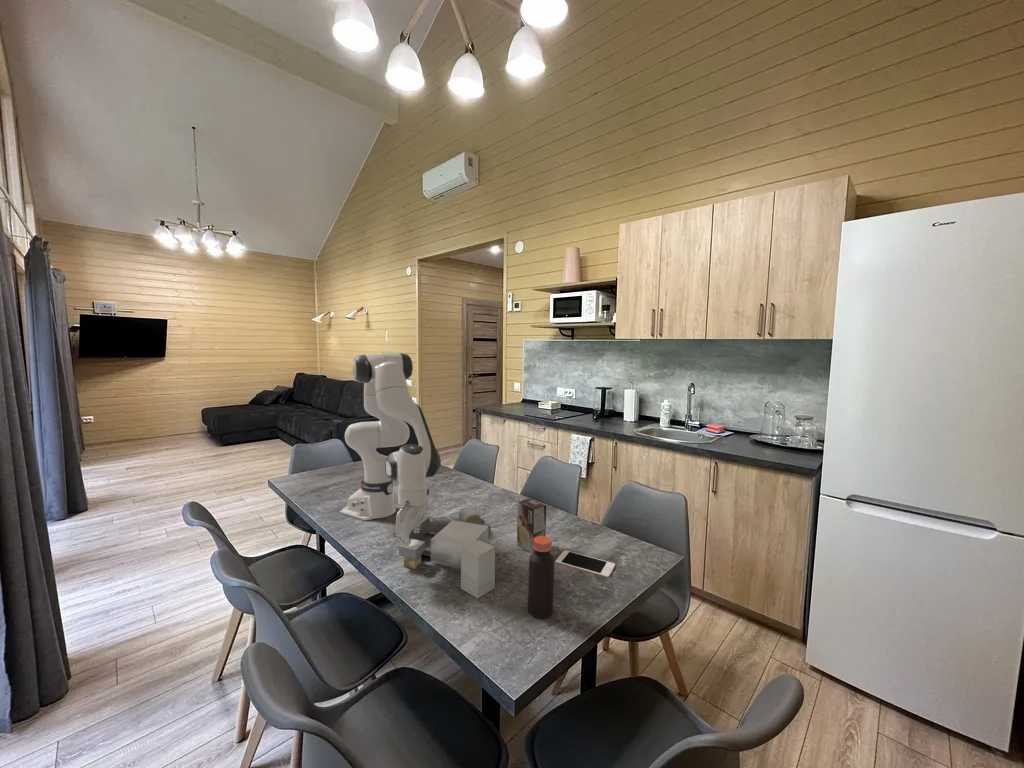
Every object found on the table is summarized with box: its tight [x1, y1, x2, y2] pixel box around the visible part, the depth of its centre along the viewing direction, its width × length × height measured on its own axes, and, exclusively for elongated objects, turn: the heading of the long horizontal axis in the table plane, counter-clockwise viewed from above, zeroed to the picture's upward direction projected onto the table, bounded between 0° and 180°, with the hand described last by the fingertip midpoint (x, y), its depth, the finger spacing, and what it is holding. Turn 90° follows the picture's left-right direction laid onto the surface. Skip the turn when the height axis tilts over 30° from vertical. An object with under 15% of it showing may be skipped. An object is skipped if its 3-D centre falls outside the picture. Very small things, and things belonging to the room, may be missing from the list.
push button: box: [398, 539, 425, 559], centre depth 133 cm, size 6×6×3 cm
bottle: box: [527, 535, 556, 619], centre depth 111 cm, size 7×7×20 cm
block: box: [403, 554, 422, 569], centre depth 134 cm, size 4×4×4 cm
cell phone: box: [555, 549, 616, 578], centre depth 137 cm, size 9×18×1 cm, turn 62°
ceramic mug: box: [458, 505, 489, 526], centre depth 162 cm, size 11×8×8 cm
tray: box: [402, 515, 438, 558], centre depth 144 cm, size 15×16×8 cm
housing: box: [430, 519, 490, 570], centre depth 140 cm, size 14×16×8 cm
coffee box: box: [516, 498, 547, 554], centre depth 147 cm, size 9×6×16 cm
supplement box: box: [460, 540, 496, 599], centre depth 121 cm, size 7×7×13 cm
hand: (412, 538), depth 133 cm, fingers open, 8 cm apart
